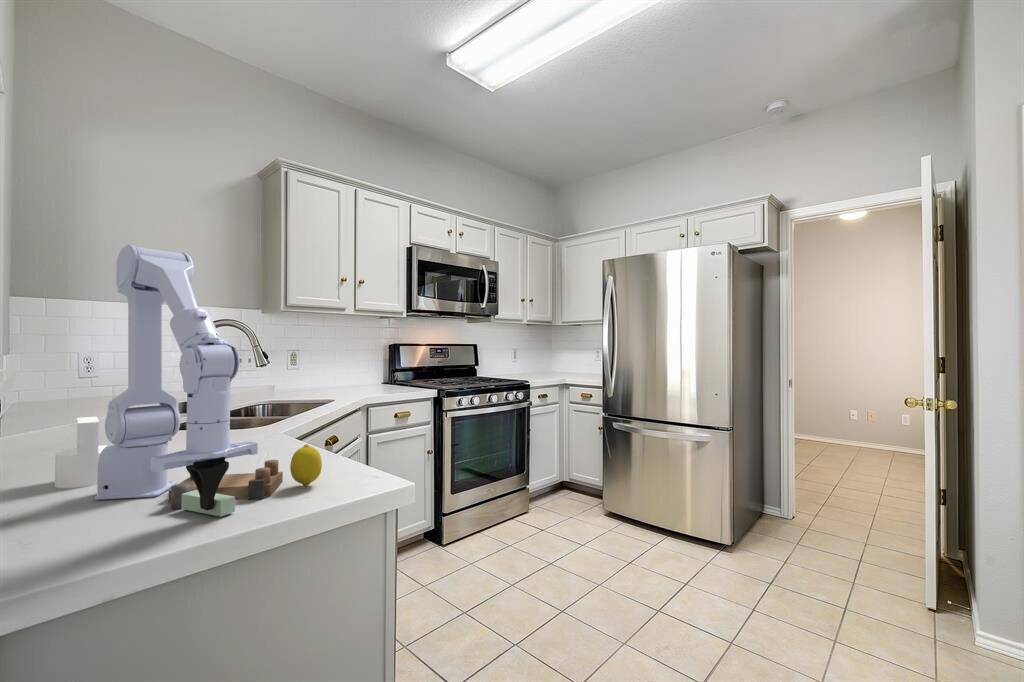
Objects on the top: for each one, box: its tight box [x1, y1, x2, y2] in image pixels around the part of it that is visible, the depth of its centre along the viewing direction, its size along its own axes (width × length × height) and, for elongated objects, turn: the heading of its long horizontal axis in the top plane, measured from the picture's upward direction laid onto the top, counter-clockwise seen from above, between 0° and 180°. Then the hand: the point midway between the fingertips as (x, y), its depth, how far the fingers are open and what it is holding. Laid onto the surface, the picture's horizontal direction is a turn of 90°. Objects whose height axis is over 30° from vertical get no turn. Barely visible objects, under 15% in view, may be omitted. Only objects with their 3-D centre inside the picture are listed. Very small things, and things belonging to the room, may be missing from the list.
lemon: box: [289, 444, 323, 487], centre depth 91 cm, size 6×6×8 cm
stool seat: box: [167, 459, 284, 510], centre depth 85 cm, size 16×13×4 cm
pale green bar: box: [180, 490, 236, 517], centre depth 76 cm, size 9×2×2 cm, turn 69°
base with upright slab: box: [54, 416, 107, 489], centre depth 93 cm, size 9×9×12 cm
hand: (207, 508), depth 74 cm, fingers closed, pressing on pale green bar
